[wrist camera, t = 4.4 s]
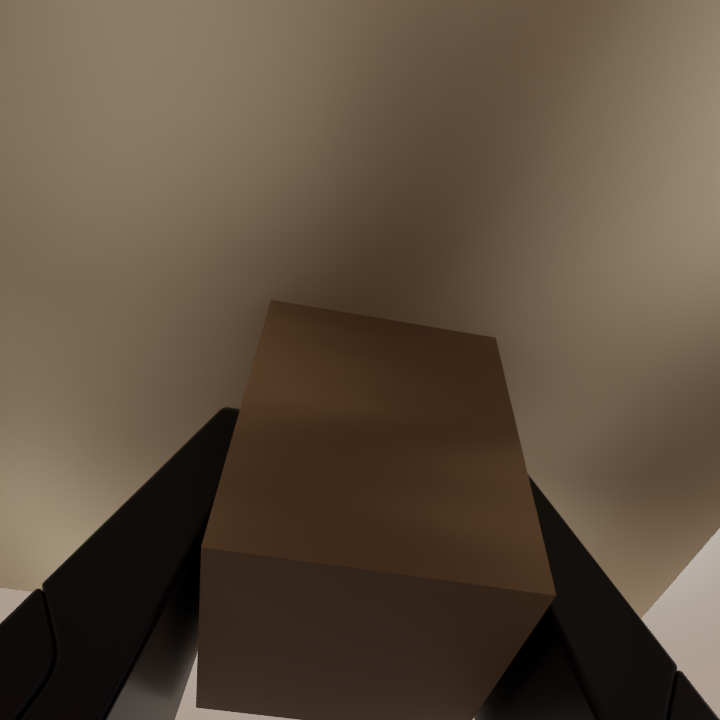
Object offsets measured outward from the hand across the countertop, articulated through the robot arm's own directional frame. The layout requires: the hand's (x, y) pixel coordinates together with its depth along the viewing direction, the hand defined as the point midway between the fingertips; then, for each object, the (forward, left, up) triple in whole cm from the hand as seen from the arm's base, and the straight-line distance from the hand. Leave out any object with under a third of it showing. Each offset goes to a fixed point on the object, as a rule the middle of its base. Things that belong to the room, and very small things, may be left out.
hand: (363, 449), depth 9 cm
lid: (0, 0, -2) cm, 2 cm away
